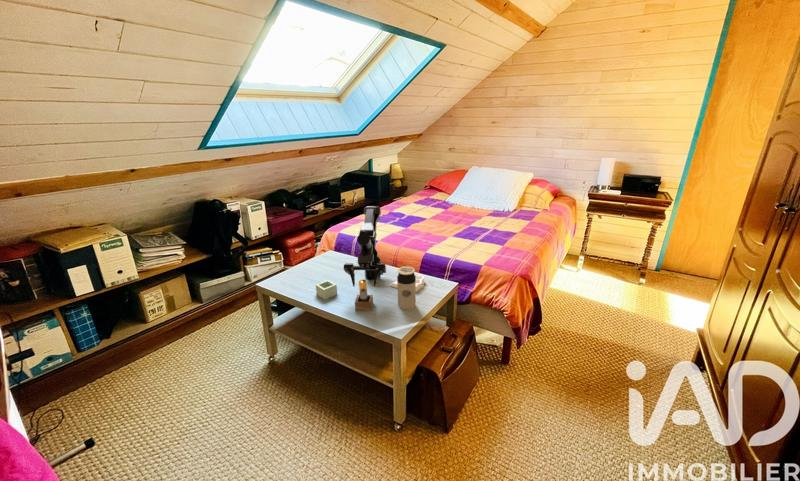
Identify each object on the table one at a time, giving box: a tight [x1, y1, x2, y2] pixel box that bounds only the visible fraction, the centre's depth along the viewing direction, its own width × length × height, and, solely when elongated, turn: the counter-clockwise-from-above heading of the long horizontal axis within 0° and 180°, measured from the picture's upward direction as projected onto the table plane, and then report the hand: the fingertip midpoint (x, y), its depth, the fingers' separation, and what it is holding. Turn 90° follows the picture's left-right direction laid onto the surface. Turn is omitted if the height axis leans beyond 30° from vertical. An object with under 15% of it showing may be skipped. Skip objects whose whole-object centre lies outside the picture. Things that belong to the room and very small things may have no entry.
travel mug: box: [396, 266, 417, 310], centre depth 159 cm, size 8×8×18 cm
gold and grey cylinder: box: [358, 279, 368, 302], centre depth 159 cm, size 3×3×12 cm
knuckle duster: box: [389, 274, 425, 293], centre depth 179 cm, size 3×18×15 cm
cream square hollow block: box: [315, 279, 338, 300], centre depth 172 cm, size 7×7×6 cm
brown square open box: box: [354, 294, 374, 312], centre depth 161 cm, size 7×7×5 cm
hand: (364, 286), depth 160 cm, fingers open, 9 cm apart
